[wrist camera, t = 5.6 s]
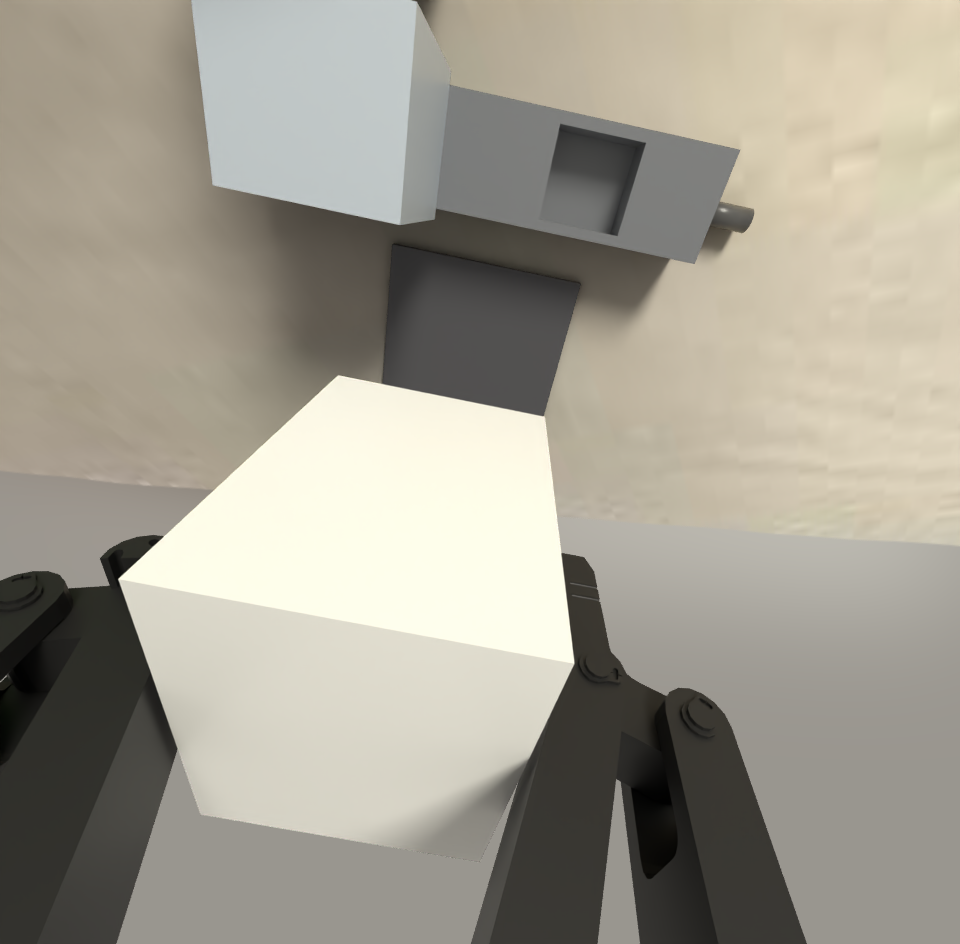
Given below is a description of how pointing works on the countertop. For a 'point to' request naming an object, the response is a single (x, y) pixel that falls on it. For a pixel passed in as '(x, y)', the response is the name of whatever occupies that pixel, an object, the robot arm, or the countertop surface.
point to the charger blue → (325, 103)
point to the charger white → (365, 621)
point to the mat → (475, 330)
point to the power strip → (584, 176)
